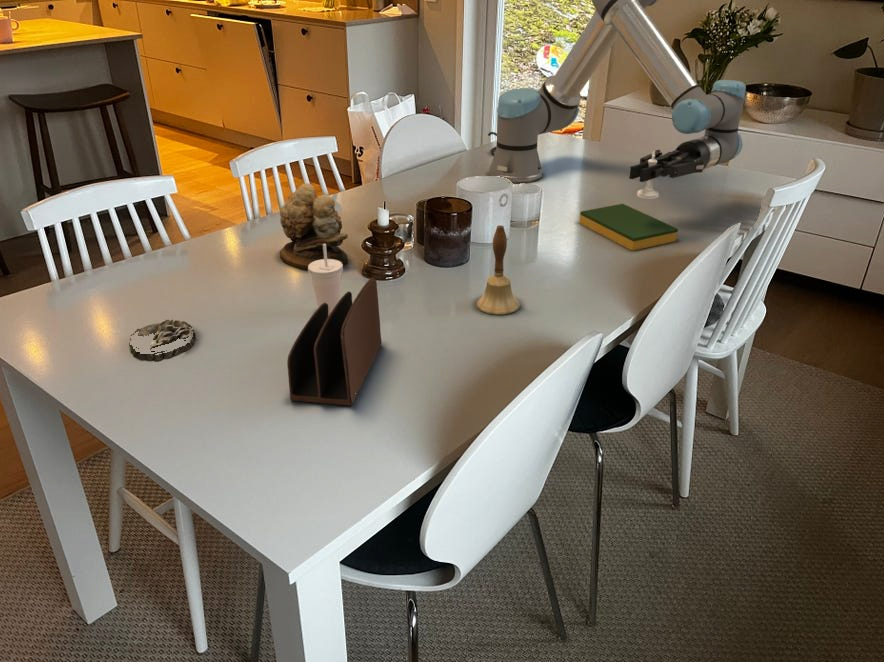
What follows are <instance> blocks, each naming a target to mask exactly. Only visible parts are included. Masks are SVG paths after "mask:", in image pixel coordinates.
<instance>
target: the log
mask: <svg viewBox="0 0 884 662" xmlns="http://www.w3.org/2000/svg"><path fill="white" fill-rule="evenodd" d="M189 327H191V329H190V328H189ZM193 329H194V330H193ZM138 331H139V333H138V336H143V337H144V335H145V336H147V335H148V336H149V334H152V333H153V334H154V335H155V336H154V338H153V340H156V341H155V342H150V350H151V349H152V348H155V347H158V346H161V345H165V344H169V343H172V342H174V341H176V340H177V339H178V338H179V339H186V338H188V337H189V336H190V335H191V334H192V331H193V332H194V333H193V337H192V339H191V340H190V343H187V344H186V345H185V346H182V347H179V348H177V349H174V350H173V351H170V352H167V353H163V352H165V351H161V352H157V353H162V354H159V355H155V354H157V353H154V354H140V352H136V351H135V349H133V346H132V345H130V343H129V345H128V346H129V351H130V354H132V357H133V358H135V359H137V360H139V361H147V362H152V361H153V362H156V363H157V362H161V361H164V360H169V359H172V358H173V357H176V356H179V355H180V354H182V353H185V352H187V351H189V350H190V349H192V347H194V345H195V340H196V336H197V335H196V332H195V327H193V326H192V325H191V324H189V323H188V322H187V321H184V320H182V321H181V320H180V319H179V320H178V319H164V320H162V321H160V322H157V323H152V324H148V325H145V326H143V327H142V328H141V327H140V328H137V329H136V330H135V331H134V332H135V333H136V332H138ZM155 333H156V334H155ZM132 335H134V333H132V334H131V335H130V336H132ZM184 341H186V340H184ZM136 348H137V347H136ZM138 349H139V348H138ZM166 351H167V350H166ZM151 352H155V351H151Z"/></svg>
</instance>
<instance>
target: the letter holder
mask: <svg viewBox="0 0 884 662" xmlns="http://www.w3.org/2000/svg"><path fill="white" fill-rule="evenodd" d="M382 342H383V341H382V332H381V318H380V306H379V294H378V283H377V279H376V278H375V277H370V278H369V279H368V280H367V282H365V284H364V285H363V287H362V288H361V289H360V291H358V294H357V295H356V297H355V298H354V300H353V293H352V292H351V291H346V292H345V293H344V294H343V295H342V297H340V300H339V302H338V303H337V304H336V306H335V307H334V309H333V310H332V312H331V313H330V315H329V316H328V304H327V303H323V304H321V306H320V307H319V308H318V307H317V309H316V310H315V311H314V312H313V314H312V315H311V316H310V318H309V319H308V321H307V322H306V323H305V324H304V326H303V328H302V329H301V331H300V333H299V334H298V336H297V338H296V339H295V340H294V343H293V344H292V347H291V349H290V351H289V353H288V355H287V361H286V365H287V374H288V375H287V376H288V387H289V400H290V401H292V402H294V401H295V402H303V403H304V402H305V403H315V404H325V405H336V406H346V407H347V406H349V407H352V406H353V404H354V402H355V400H356V397H357V395H358V394H359V390H360V389H361V387H362V384H363V383H364V381H365V379H366V376H367V375H368V373H369V371H370V369H371V366H372V364H373V362H374V361H375V358H376V356H377V354H378V351H379V350H380V347H381V346H382ZM355 393H356V394H355Z"/></svg>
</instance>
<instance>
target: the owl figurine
mask: <svg viewBox="0 0 884 662" xmlns="http://www.w3.org/2000/svg"><path fill="white" fill-rule="evenodd" d="M335 205H336V203H335V200H334V198H333V197H332V196H330V195H328V194H327V195H326V194H321V195H318V196H317V192H316V188H315V187H314V186H313V184H310V183H309V182H308V183H307V182H306V183H302V184H301V185H299V186H298V187H297V188H296V189H295V190H294V192H292V193H290V194H289V196H288V197H287V200H286V201H285V202H284V204H283V206H282V207H281V208H279V216H280V219H279V221H280V226H281V227H282V230H283V232H284V235H285V236H286V238H288V239H289V240H290V242H287V243H285V244H284V246H283V247H282V248H281V249H280V250H279V258H280V259H281V260H282V262H284V263H285V264H287V265H289V266H292V267H295V268H298V269H302V270H305V271H306V270H307V271H308V265H309V264H310V263H312V262H314V261H317V260H321V259H324V252H323V244H326V251H327V259H334V260H338V261H340V262H341V263H342V264H343V265H345V264H347V263H348V255H347V253H346V252H345V251H344V250H343V249H341V248H340V247H339V246H341V245H342V244H343V242H344V241H345V240H346V239H348V238H349V235H348V233H346V232H343V233H341V230H342V229H343V221H342V217H341V216H340V215H339V213H338V211H337V210H336V208H335Z"/></svg>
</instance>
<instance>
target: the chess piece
mask: <svg viewBox="0 0 884 662" xmlns="http://www.w3.org/2000/svg"><path fill="white" fill-rule="evenodd" d="M652 153H653V154H652ZM652 153H651V154H652V159H649V160H648V164H649V167H650V166H653V165H656V163H657V160H655V159H654V158H655V151H652ZM645 182H646V183H645V186H644V187H643V188H641V189H639V190H637V192H636V196H637V197H639V198H641V199H645V200H653V199H654V200H655V199H658V198H659V197H660V193H659V192H658V190H655V188H654V179H651V180H648V181H645Z"/></svg>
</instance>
